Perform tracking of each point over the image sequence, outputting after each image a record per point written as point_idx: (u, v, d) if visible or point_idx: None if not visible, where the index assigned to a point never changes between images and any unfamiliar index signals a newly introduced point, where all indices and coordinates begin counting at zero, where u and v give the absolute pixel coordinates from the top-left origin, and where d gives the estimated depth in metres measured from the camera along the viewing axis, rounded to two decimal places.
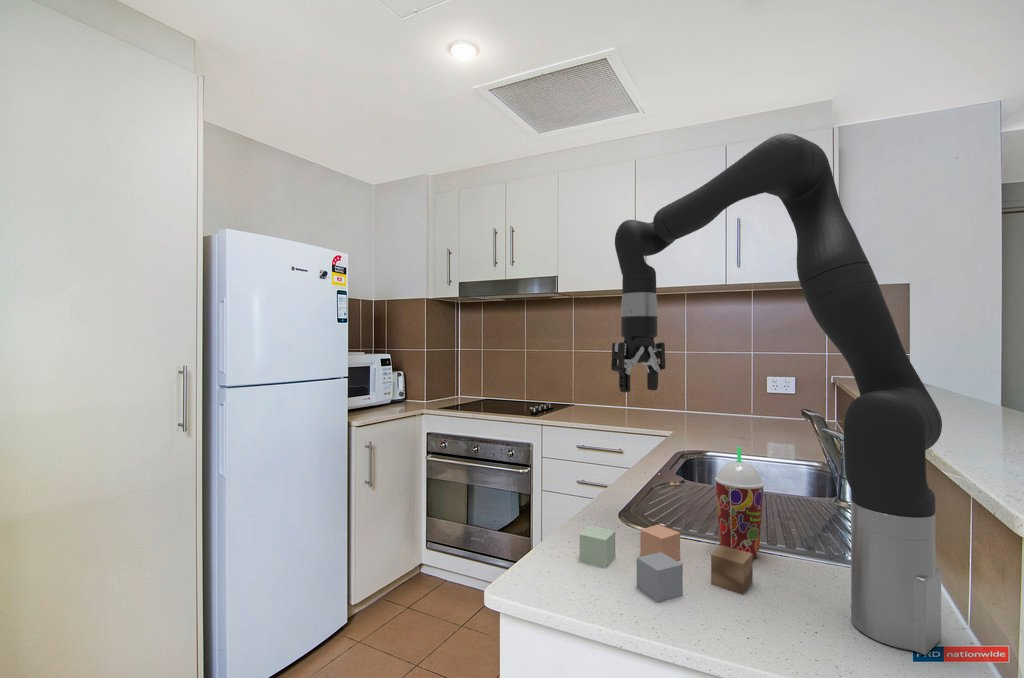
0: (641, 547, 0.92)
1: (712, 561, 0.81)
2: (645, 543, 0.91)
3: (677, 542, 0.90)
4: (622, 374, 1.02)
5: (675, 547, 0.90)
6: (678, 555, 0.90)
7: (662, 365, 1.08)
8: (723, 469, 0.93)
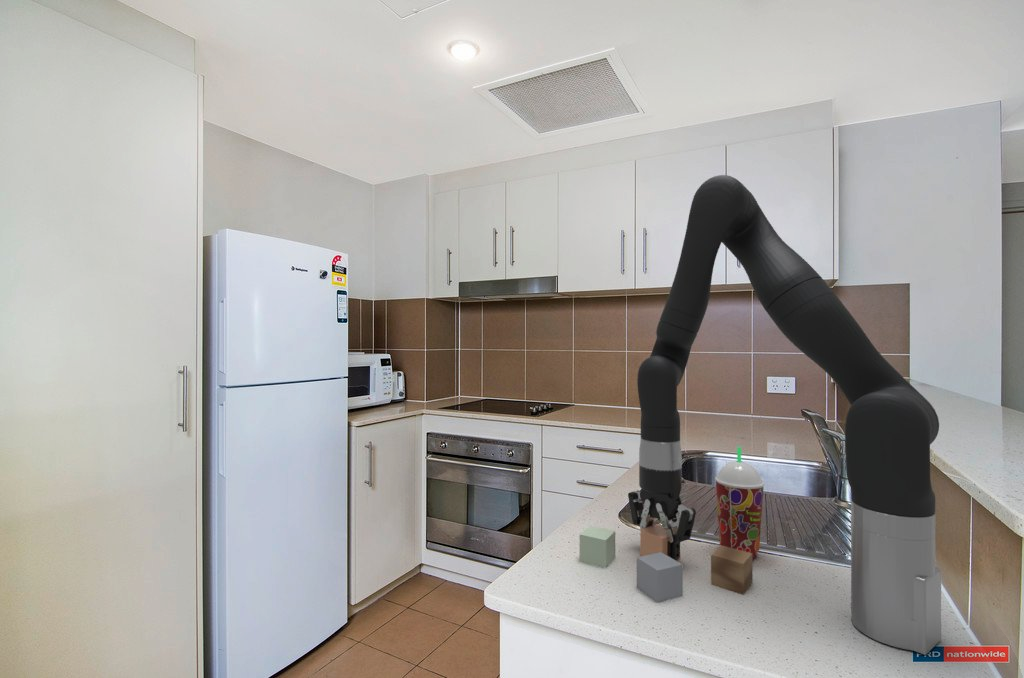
0: (641, 546, 0.92)
1: (712, 561, 0.81)
2: (645, 543, 0.91)
3: None
4: (679, 542, 0.88)
5: None
6: None
7: None
8: (723, 469, 0.93)
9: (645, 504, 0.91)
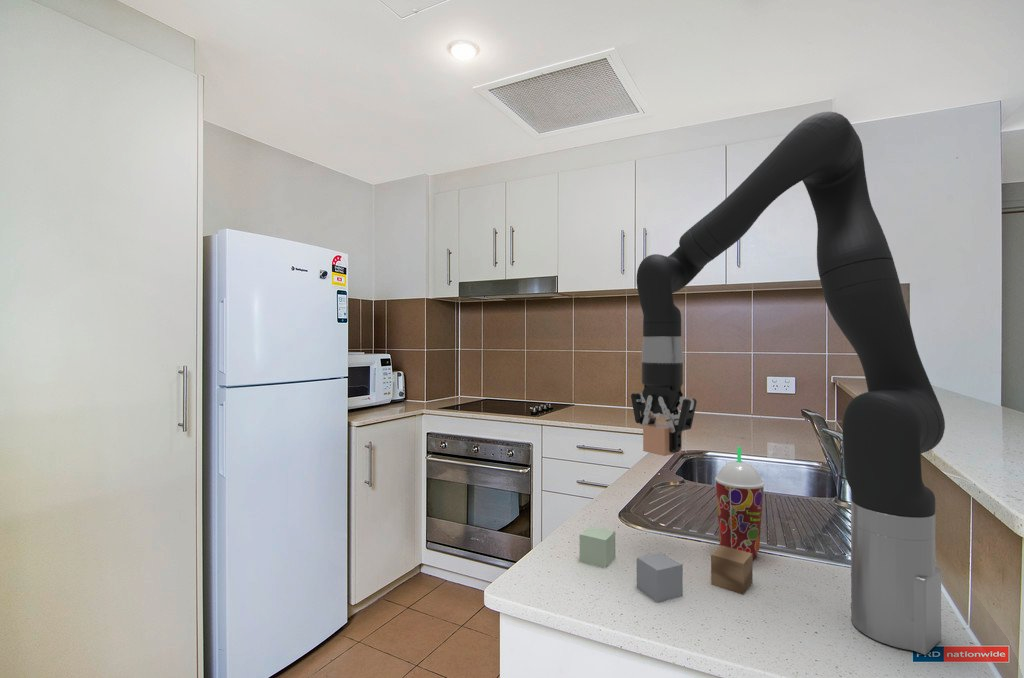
0: (643, 441, 0.95)
1: (712, 561, 0.81)
2: (648, 437, 0.94)
3: None
4: (680, 432, 0.91)
5: None
6: None
7: None
8: (723, 469, 0.93)
9: (647, 400, 0.95)
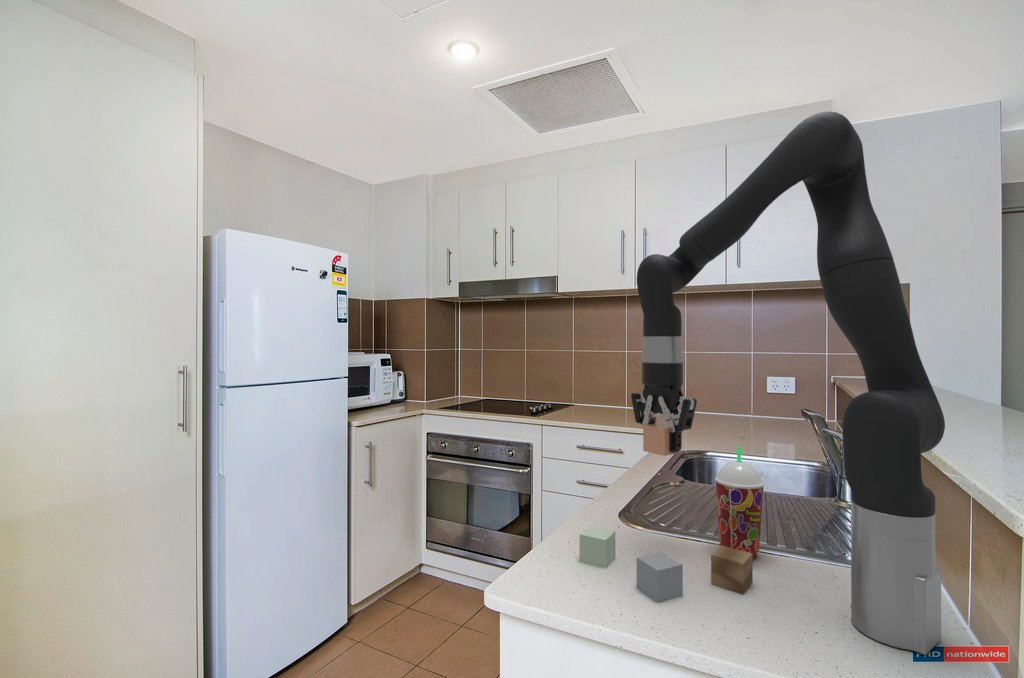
0: (643, 441, 0.95)
1: (712, 561, 0.81)
2: (648, 436, 0.94)
3: None
4: (680, 432, 0.91)
5: None
6: None
7: None
8: (723, 469, 0.93)
9: (648, 400, 0.95)
